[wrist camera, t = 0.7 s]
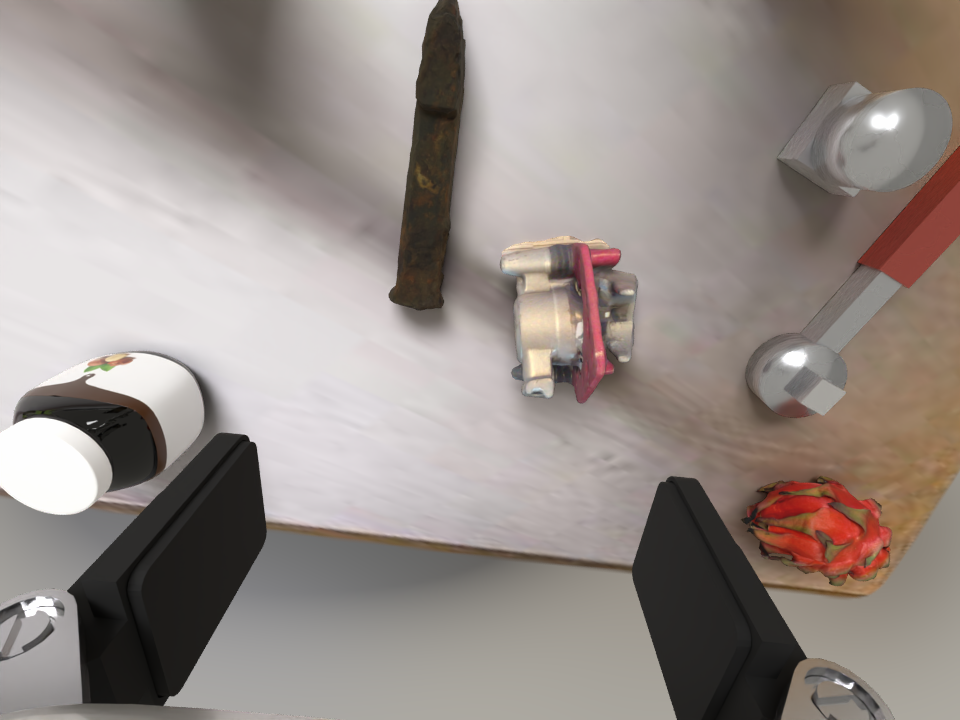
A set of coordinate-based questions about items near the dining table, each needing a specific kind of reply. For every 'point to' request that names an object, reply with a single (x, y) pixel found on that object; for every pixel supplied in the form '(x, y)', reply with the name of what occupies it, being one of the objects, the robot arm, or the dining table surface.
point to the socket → (870, 139)
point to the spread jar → (99, 430)
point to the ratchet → (857, 303)
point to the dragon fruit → (821, 529)
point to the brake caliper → (569, 313)
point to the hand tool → (431, 161)
